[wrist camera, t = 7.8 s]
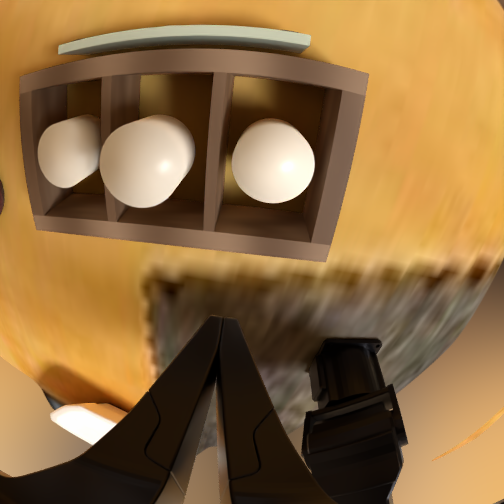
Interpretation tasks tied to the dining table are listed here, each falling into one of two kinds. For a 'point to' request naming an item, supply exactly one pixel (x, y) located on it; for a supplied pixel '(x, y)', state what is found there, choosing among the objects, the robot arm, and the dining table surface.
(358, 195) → the dining table surface
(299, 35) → the card
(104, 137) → the brown compartment tray
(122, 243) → the dining table surface
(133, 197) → the button mid
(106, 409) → the bowl
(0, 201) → the can
